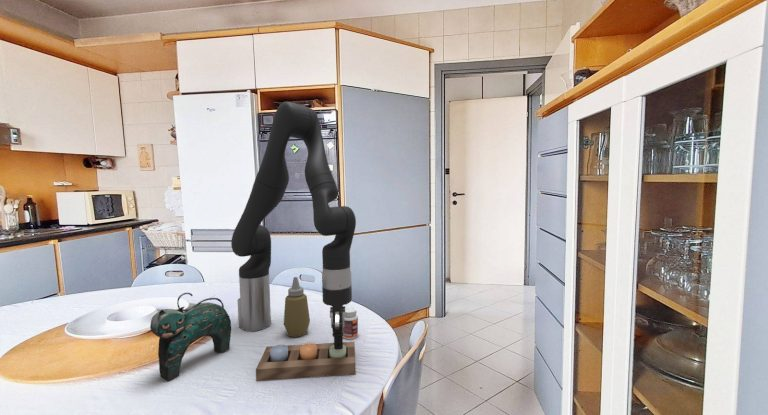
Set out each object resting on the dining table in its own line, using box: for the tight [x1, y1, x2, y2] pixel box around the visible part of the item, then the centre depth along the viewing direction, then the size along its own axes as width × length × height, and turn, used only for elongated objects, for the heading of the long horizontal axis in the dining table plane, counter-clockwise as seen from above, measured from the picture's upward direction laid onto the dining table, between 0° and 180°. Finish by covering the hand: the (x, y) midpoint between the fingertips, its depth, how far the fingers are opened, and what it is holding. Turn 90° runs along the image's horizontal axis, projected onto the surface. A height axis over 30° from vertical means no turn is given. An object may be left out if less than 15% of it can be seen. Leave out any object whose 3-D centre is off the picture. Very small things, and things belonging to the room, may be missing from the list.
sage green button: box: [329, 345, 346, 358], centre depth 90 cm, size 4×4×3 cm
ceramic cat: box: [150, 292, 232, 382], centre depth 90 cm, size 20×6×20 cm, turn 151°
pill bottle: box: [343, 307, 359, 340], centre depth 105 cm, size 5×5×8 cm
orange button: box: [300, 342, 318, 360], centre depth 89 cm, size 4×4×3 cm
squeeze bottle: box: [283, 276, 311, 338], centre depth 107 cm, size 8×8×18 cm
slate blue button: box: [270, 344, 288, 362], centre depth 88 cm, size 4×4×3 cm
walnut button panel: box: [255, 341, 357, 382], centre depth 89 cm, size 24×11×3 cm, turn 96°
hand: (338, 347), depth 90 cm, fingers closed
